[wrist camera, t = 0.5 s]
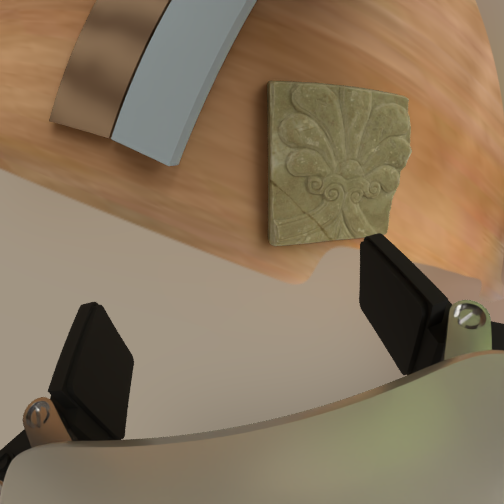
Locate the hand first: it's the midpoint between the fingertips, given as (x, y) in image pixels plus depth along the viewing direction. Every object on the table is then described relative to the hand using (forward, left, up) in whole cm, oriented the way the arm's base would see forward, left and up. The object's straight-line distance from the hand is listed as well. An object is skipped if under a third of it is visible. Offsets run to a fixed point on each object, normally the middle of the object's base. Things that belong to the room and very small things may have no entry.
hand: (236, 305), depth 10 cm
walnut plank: (-11, -16, -27) cm, 33 cm away
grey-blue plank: (-11, -7, -25) cm, 28 cm away
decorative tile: (-5, +15, -28) cm, 32 cm away
